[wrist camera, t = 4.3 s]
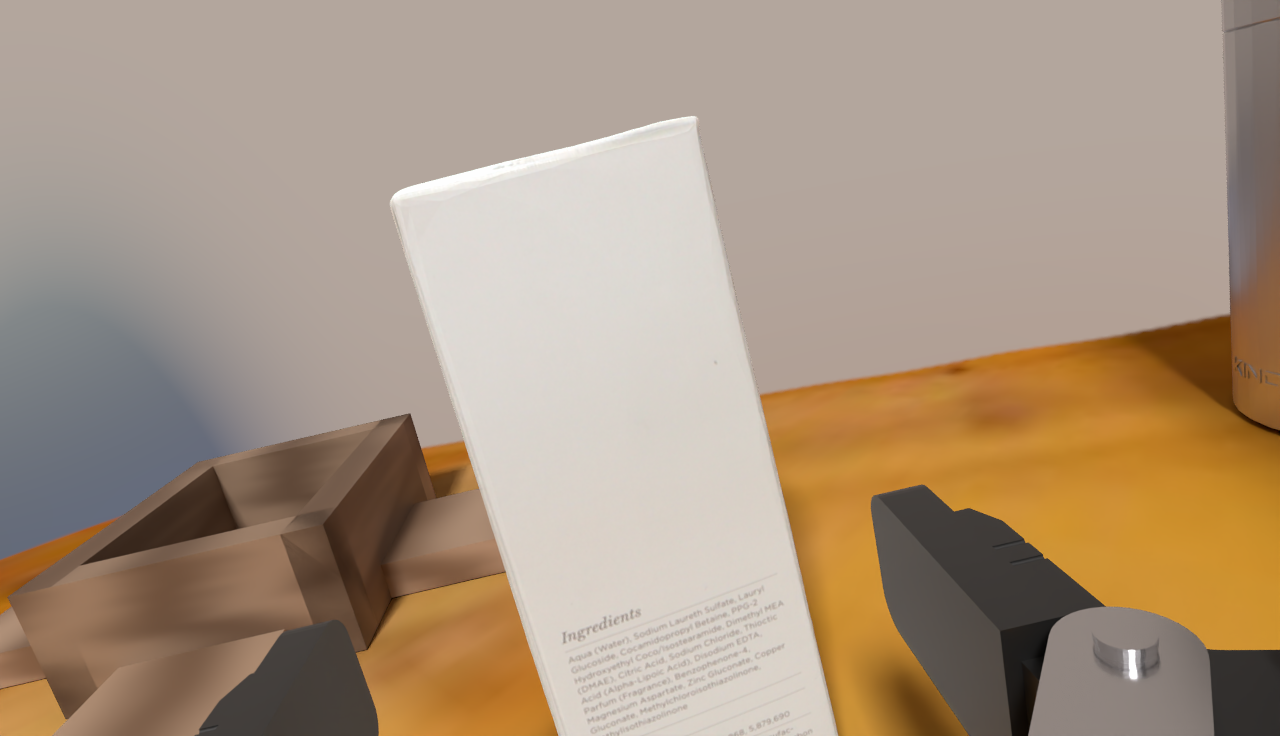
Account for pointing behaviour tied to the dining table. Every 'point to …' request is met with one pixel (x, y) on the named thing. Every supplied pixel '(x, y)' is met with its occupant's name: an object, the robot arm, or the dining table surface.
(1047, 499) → the dining table surface
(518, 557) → the skincare box
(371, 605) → the cross stand
